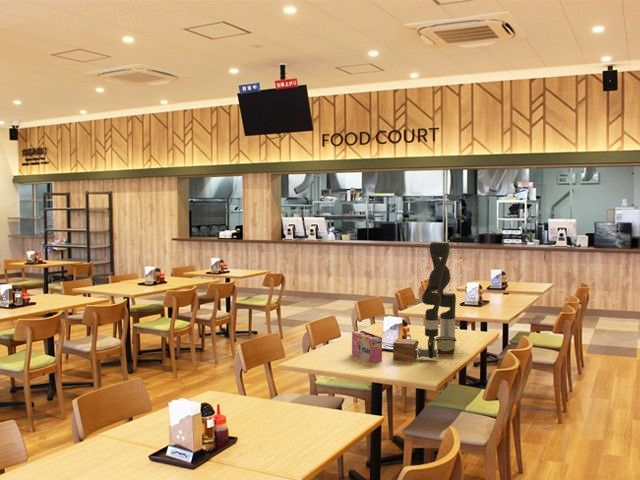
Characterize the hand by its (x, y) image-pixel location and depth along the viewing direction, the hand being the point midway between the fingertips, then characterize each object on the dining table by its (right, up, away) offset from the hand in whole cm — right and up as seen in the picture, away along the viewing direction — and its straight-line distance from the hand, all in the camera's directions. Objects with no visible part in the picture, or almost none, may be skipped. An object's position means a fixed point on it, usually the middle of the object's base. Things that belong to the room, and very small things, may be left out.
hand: (431, 357), depth 377 cm
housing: (-14, -1, +4) cm, 15 cm away
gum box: (-36, -2, +7) cm, 37 cm away
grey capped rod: (-6, -1, +2) cm, 7 cm away
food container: (+11, -1, +16) cm, 19 cm away
